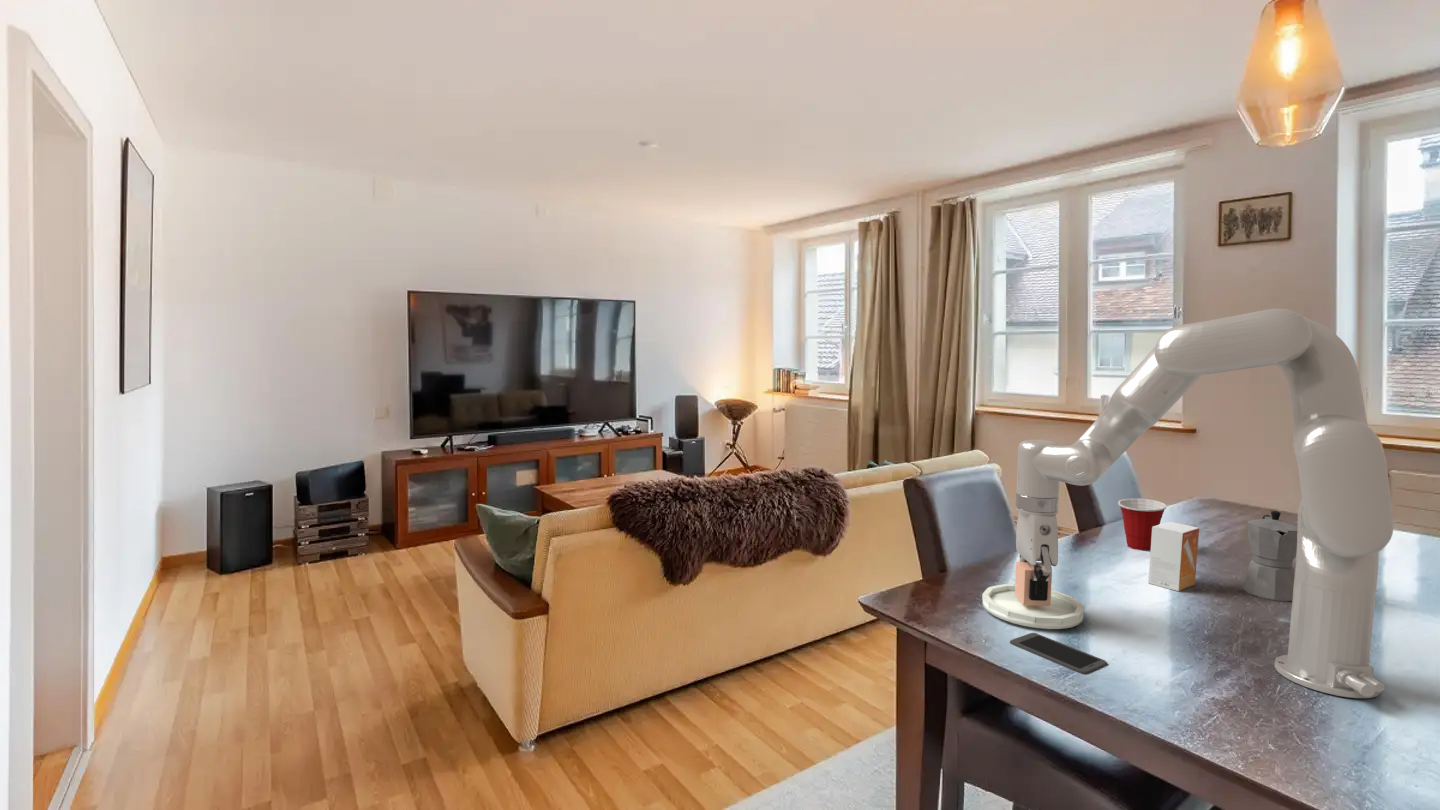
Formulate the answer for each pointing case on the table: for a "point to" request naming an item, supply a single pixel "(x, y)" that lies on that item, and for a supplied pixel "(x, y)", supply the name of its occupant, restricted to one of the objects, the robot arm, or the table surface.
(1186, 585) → the small box
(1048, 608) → the dish
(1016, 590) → the block
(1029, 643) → the cell phone
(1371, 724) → the table surface
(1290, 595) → the coffeepot
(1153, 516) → the plastic cup
